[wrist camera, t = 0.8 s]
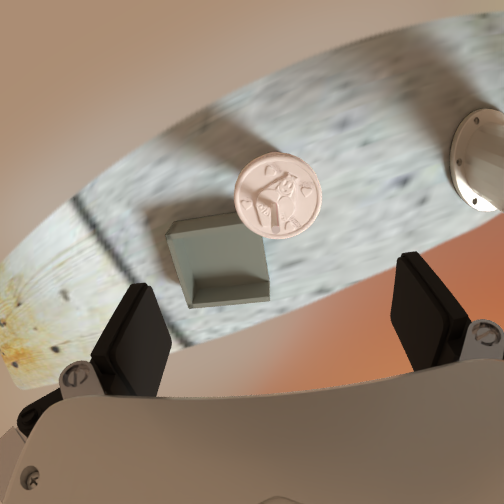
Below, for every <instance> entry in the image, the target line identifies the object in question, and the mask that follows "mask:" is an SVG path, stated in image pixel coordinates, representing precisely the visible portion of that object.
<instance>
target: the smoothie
mask: <svg viewBox="0 0 504 504" xmlns="http://www.w3.org/2000/svg"><path fill="white" fill-rule="evenodd" d="M234 204H235V208H236V211H237V214H238V216H239V218H240V219H241V221H242V222H243V223H244V224H245V225H246V226H247V227H248V228H249V229H250V230H251V231H253V232H254V233H256V234H258V235H260V236H263V237H266V238H271V239H284V238H290V237H293V236H295V235H298V234H300V233H301V232H303V231H305V230H306V229H307V228H308V227H309V226H310V225H311V224H312V223H313V222H314V220H315V219H316V217H317V216H318V213H319V211H320V208H321V204H322V191H321V186H320V183H319V180H318V178H317V175H316V173H315V172H314V171H313V169H312V168H311V167H310V166H309V165H308V164H307V163H306V162H304V161H303V160H302V159H300V158H298V157H296V156H293V155H291V154H287V153H280V152H270V153H267V154H264V155H262V156H260V157H257V158H255V159H254V160H252V161H251V162H250V163H249V164H247V165H246V166H245V167H244V169H243V170H242V171H241V173H240V174H239V176H238V179H237V181H236V184H235V191H234Z"/></svg>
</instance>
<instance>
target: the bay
mask: <svg viewBox="0 0 504 504" xmlns="http://www.w3.org/2000/svg"><path fill="white" fill-rule="evenodd" d="M165 237H166V240H167V243H168V247H169V250H170V253H171V256H172V260H173V263H174V266H175V269H176V272H177V275H178V278H179V281H180V284H181V288H182V291H183V294H184V296H185V299H186V302H187V305H188V308H189V309H191V308H203V307H215V306H225V305H236V304H246V303H255V302H265V301H270V281H269V275H268V269H267V263H266V257H265V251H264V245H263V239H262V236H260V235H258V234H256V233H254V232H253V231H251V230H250V229H249V228H248V227H247V226H246V225H245V224H244V223H243V222H242V221H241V219H240V218H239V216H238V214H237V212H234V213H227V214H221V215H214V216H208V217H201V218H195V219H189V220H183V221H176V222H174V223H173V224H172V226H171V227H170V229H169V230H168V232H167V233H166V234H165Z"/></svg>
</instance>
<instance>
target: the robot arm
mask: <svg viewBox="0 0 504 504" xmlns="http://www.w3.org/2000/svg"><path fill="white" fill-rule="evenodd" d="M450 170H451V176H452V180H453V184H454V186H455V188H456V191H457V192H458V194H459V195H460V197H461V198H462V199H463V200H464V201H465V202H466V203H467V204H468V205H469V206H471V207H472V208H474V209H476V210H479V211H484V212H489V211H494V210H497V209H498V210H500V211H501V212H503V213H504V114H503V113H502V112H500V111H497V110H493V109H486V108H484V109H478V110H476V111H474V112H472V113H470V114H469V115H468V116H467V117H465V118H464V120H463V121H462V122H461V124H460V125H459V127H458V129H457V131H456V133H455V135H454V138H453V141H452V146H451V151H450ZM390 316H391V322H392V325H393V327H394V329H395V331H396V333H397V335H398V337H399V339H400V341H401V343H402V346H403V348H404V350H405V352H406V354H407V357H408V359H409V361H410V363H411V365H412V368H413V370H414V372H410V373H406V374H401V375H396V376H391V377H387V378H382V379H377V380H372V381H366V382H360V383H355V384H349V385H342V386H336V387H329V388H322V389H314V390H306V391H297V392H287V393H277V394H265V395H250V396H230V397H156V395H157V392H158V389H159V385H160V382H161V379H162V375H163V372H164V369H165V365H166V362H167V359H168V356H169V352H170V349H171V346H172V340H171V337H170V334H169V332H168V329H167V326H166V324H165V321H164V319H163V316H162V314H161V311H160V308H159V306H158V303H157V300H156V297H155V295H154V292H153V289H152V287H151V286H148V285H147V284H146V283H136V284H131V285H130V287H129V288H128V290H127V292H126V293H125V295H124V296H123V298H122V300H121V302H120V303H119V305H118V307H117V308H116V310H115V312H114V313H113V315H112V317H111V319H110V320H109V322H108V324H107V326H106V327H105V329H104V331H103V333H102V334H101V336H100V338H99V340H98V342H97V343H96V345H95V347H94V349H93V351H92V353H91V355H90V356H91V357H92V359H91V360H90V362H87V361H77V362H74V363H72V364H70V365H68V366H67V367H66V368H65V369H64V370H63V371H62V373H61V374H60V377H59V385H60V388H58V389H56V390H55V391H53V392H51V393H49V394H48V395H46V396H44V397H42V398H41V399H39V400H37V401H35V402H34V403H32V404H30V405H28V406H27V407H25V408H24V409H23V410H22V411H21V413H20V414H19V416H18V419H17V426H18V427H17V428H14V427H12V428H11V429H9V430H8V431H7V432H6V433H5V434H4V435H3V436H2V437H1V438H0V500H1V502H2V504H504V332H503V330H502V328H501V327H500V326H499V325H497V324H496V323H494V322H492V321H490V320H485V319H480V320H476V321H473V322H471V320H470V319H469V317H468V315H467V313H466V312H465V310H464V309H463V308H462V307H461V305H460V304H459V303H458V301H457V300H456V299H455V297H454V296H453V295H452V293H451V292H450V291H449V290H448V288H447V287H446V286H445V285H444V283H443V282H442V281H441V280H440V278H439V277H438V276H437V275H436V274H435V272H434V271H433V270H432V269H431V268H430V267H429V265H428V264H427V263H426V262H425V260H424V259H423V258H422V257H421V256H420V255H419V253H418V252H416V251H415V252H407V253H402V255H401V257H399V258H398V259H397V265H396V276H395V285H394V292H393V300H392V307H391V315H390Z"/></svg>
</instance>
